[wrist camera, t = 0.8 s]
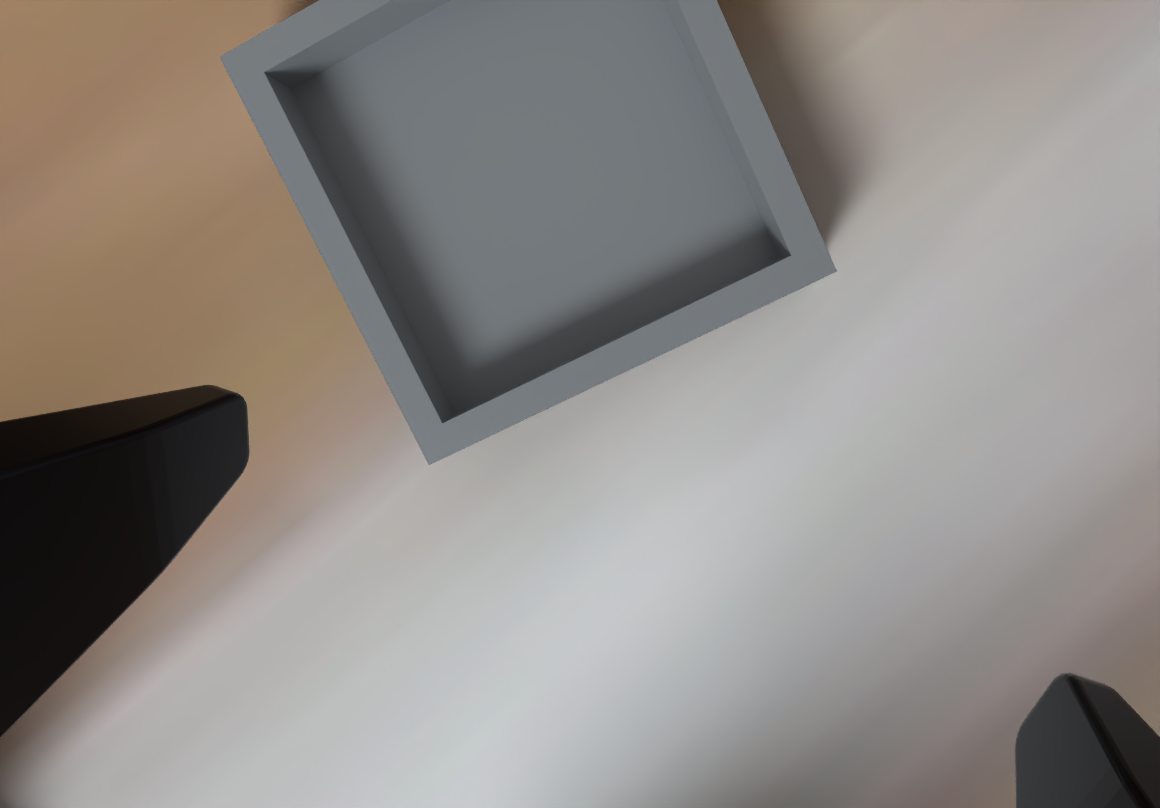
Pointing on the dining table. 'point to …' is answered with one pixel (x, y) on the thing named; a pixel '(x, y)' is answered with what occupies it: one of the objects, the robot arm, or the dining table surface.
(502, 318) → the tray
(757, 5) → the dining table surface
